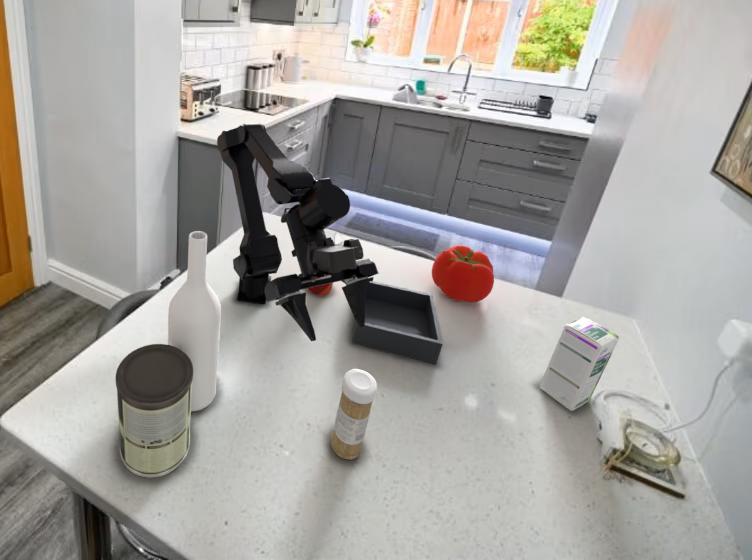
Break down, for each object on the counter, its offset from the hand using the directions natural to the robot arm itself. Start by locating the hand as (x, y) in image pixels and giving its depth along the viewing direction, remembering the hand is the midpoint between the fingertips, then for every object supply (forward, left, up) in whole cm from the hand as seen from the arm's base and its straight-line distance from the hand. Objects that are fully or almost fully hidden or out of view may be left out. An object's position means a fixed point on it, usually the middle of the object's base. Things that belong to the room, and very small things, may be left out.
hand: (338, 333), depth 68 cm
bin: (+15, +21, -14) cm, 29 cm away
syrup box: (+43, +10, -14) cm, 46 cm away
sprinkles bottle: (+3, -8, -14) cm, 17 cm away
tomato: (+33, +37, -14) cm, 51 cm away
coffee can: (-25, -13, -14) cm, 32 cm away
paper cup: (0, +31, -14) cm, 34 cm away
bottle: (-22, -3, -14) cm, 27 cm away
